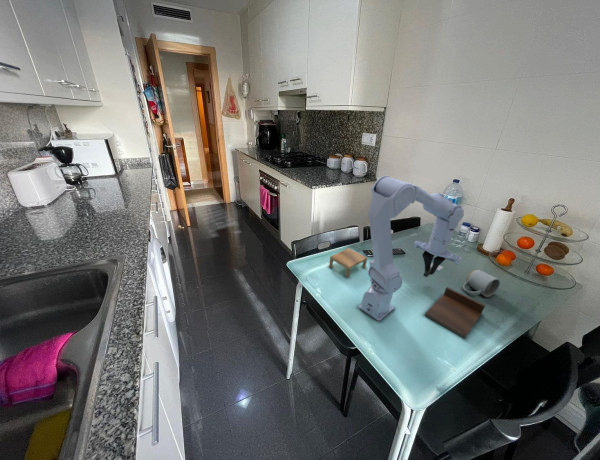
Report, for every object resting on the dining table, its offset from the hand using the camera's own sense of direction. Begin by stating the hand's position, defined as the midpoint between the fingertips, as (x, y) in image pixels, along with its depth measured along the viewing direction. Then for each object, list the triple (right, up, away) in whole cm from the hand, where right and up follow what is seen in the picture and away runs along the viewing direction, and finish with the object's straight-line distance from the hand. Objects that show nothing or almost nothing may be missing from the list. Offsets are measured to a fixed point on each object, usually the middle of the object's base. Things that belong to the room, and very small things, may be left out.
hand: (429, 272), depth 87 cm
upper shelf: (-25, -1, +19) cm, 31 cm away
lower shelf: (+5, -13, -5) cm, 15 cm away
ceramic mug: (+22, -9, +8) cm, 25 cm away
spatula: (+2, 0, +1) cm, 2 cm away
